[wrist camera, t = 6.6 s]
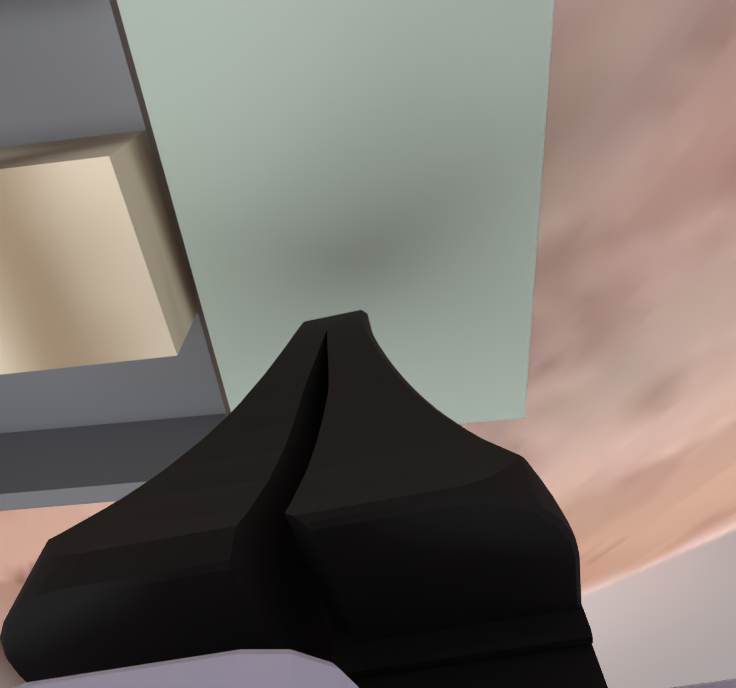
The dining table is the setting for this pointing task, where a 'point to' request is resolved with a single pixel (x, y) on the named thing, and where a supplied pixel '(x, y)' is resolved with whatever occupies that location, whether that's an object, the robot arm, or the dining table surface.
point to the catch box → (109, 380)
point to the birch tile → (88, 256)
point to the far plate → (357, 178)
